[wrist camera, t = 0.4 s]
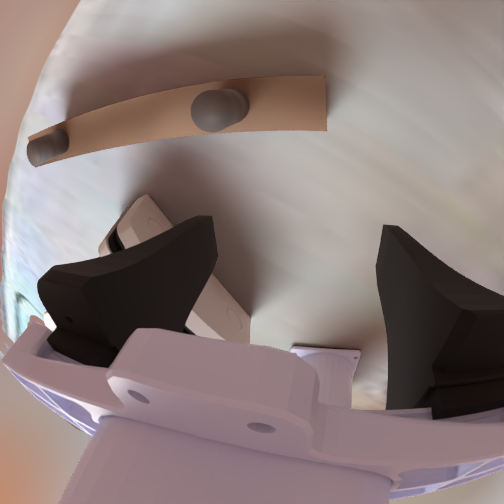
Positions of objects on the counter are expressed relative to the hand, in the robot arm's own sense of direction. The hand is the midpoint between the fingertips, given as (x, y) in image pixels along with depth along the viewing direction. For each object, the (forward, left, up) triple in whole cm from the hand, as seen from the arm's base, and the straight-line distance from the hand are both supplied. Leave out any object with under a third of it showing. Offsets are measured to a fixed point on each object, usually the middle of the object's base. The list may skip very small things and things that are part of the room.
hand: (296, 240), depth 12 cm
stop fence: (+5, +11, -10) cm, 16 cm away
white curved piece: (-9, +11, -10) cm, 18 cm away
